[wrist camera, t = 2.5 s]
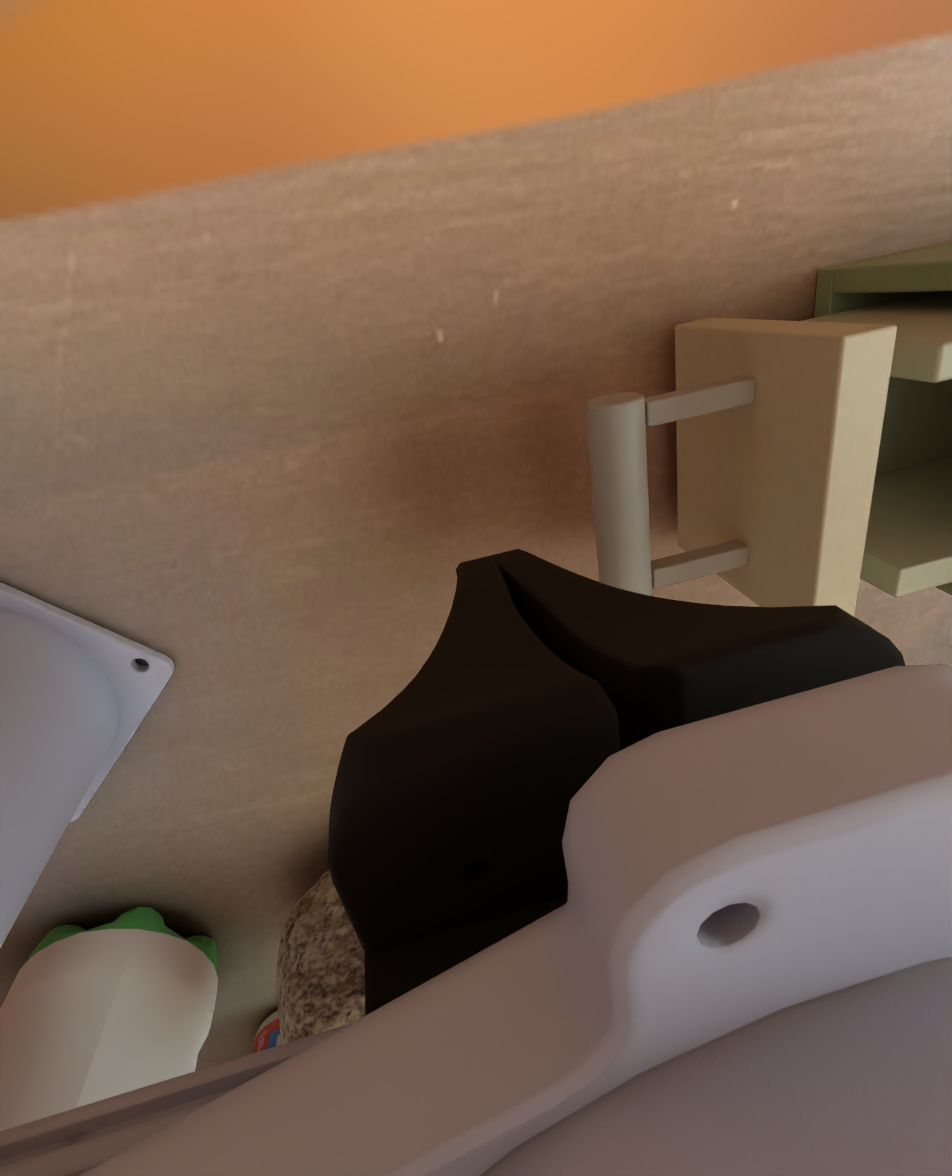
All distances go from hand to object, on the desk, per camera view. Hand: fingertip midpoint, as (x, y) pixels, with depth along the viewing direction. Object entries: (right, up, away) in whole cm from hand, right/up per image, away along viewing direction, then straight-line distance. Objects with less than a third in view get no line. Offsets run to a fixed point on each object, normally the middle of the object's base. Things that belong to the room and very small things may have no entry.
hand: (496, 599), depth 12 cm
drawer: (+10, +6, +7) cm, 14 cm away
